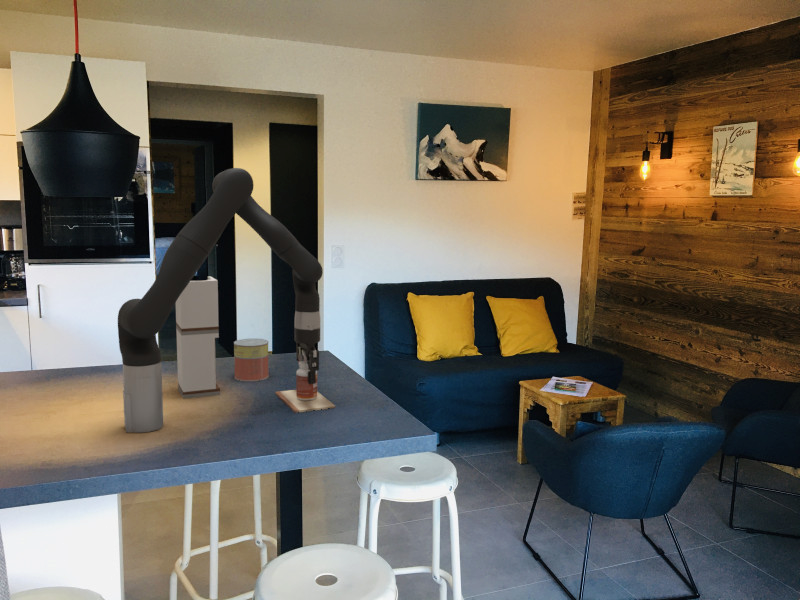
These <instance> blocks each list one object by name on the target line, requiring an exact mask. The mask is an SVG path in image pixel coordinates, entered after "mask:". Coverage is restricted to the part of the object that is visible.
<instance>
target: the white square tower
mask: <svg viewBox="0 0 800 600" xmlns="http://www.w3.org/2000/svg"><path fill="white" fill-rule="evenodd" d="M218 284H219V282H218V279H216V278H214V277H213V276H210V275H209V276H207V279H206V280H191V281H190V282H189V284H188V285H187V286H186V288H185V289H184V290H183V292H182V293H181V295H180V296H179V298H178V299H177V301H176V303H175V324H176V325H175V326H176V327H175V329H176V331H175V332H176V355H177V357H176V358H177V359H176V362H177V364H176V365H177V390H178V391H179V393H180V395H181V397H182V399H184V400H185V398H187V399H195V398H194V397H196V398H205V397H212V396H220V395H221V387H219V385H218V384H217V383H216V382H217V381H216V380H217V379H216V378H217V377H216V375H217V373H216V339H217V338H218V339H219V338H220V336H219V335H220V333H219V332H220V331H219V330H220V329H219V326H220V325H219V289H218V287H219V285H218ZM204 396H205V397H204Z"/></svg>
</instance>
